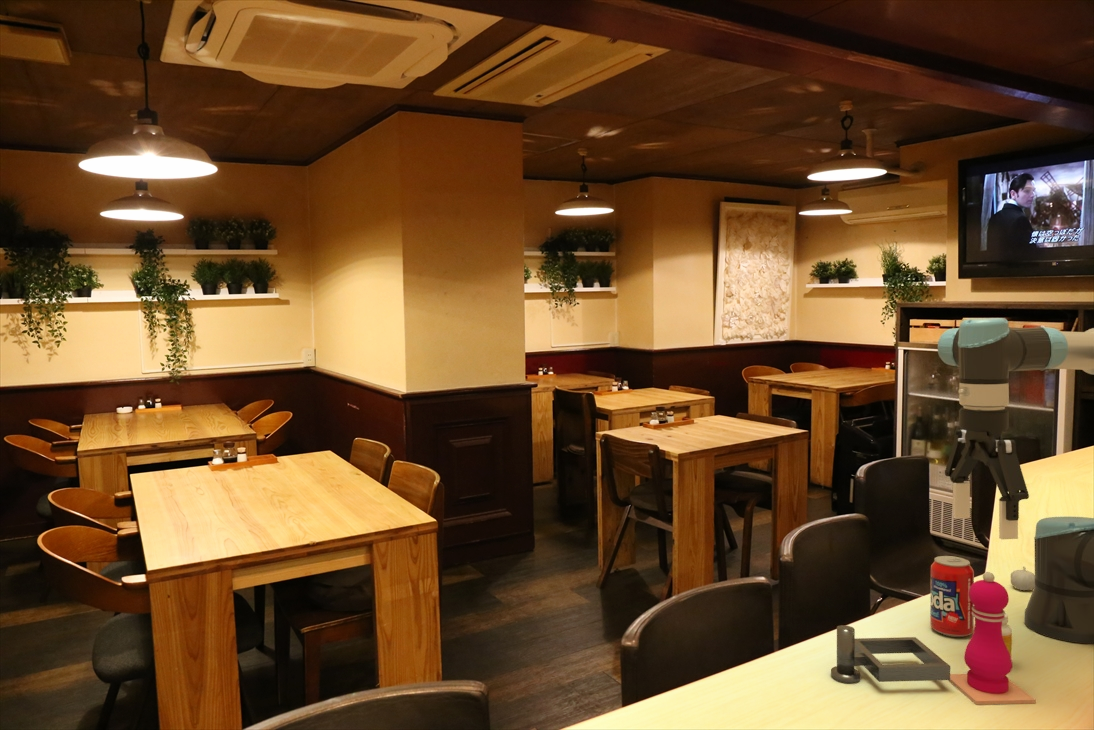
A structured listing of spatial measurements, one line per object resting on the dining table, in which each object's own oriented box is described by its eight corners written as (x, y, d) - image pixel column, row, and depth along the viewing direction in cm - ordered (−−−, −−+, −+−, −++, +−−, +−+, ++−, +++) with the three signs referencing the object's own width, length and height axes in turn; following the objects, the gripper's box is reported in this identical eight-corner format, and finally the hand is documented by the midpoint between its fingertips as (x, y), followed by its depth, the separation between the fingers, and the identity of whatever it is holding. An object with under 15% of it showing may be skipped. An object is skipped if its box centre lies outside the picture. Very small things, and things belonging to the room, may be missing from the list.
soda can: (982, 637, 157) (983, 563, 156) (949, 641, 155) (950, 567, 154) (953, 622, 164) (953, 553, 163) (921, 627, 162) (922, 556, 161)
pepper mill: (1018, 697, 130) (1020, 580, 129) (971, 693, 132) (972, 578, 131) (1002, 677, 137) (1003, 566, 136) (958, 674, 139) (959, 564, 138)
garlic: (1017, 583, 188) (1018, 562, 187) (1041, 589, 183) (1042, 568, 183) (1004, 588, 184) (1005, 567, 184) (1028, 595, 180) (1029, 573, 180)
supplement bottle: (971, 660, 146) (971, 610, 146) (992, 655, 148) (993, 606, 147) (996, 672, 141) (997, 620, 140) (1018, 667, 143) (1019, 616, 142)
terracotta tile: (999, 676, 139) (999, 672, 139) (1035, 703, 129) (1035, 699, 129) (944, 677, 139) (944, 674, 139) (976, 704, 129) (976, 701, 129)
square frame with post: (915, 660, 146) (915, 613, 146) (950, 691, 134) (950, 640, 134) (819, 662, 146) (819, 615, 146) (845, 694, 134) (845, 642, 133)
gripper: (924, 400, 147) (925, 511, 148) (1008, 416, 122) (1008, 549, 123) (963, 399, 147) (963, 509, 148) (1054, 414, 122) (1054, 547, 124)
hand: (983, 528), depth 136 cm, fingers open, 13 cm apart
